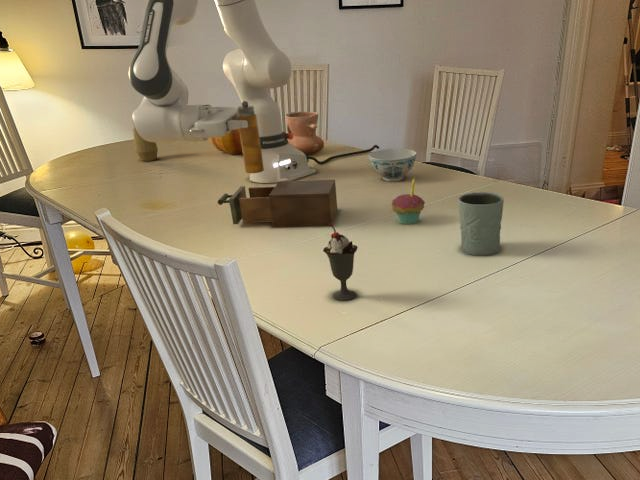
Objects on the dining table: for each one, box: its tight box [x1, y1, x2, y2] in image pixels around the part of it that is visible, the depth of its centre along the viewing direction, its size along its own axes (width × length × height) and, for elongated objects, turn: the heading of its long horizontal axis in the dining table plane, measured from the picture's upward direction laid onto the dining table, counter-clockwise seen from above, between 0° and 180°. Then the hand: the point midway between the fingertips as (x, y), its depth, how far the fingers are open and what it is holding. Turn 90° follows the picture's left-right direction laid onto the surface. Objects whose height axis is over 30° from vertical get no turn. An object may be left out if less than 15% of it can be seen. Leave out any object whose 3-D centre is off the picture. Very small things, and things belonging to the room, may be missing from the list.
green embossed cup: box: [457, 191, 505, 257], centre depth 147 cm, size 10×10×12 cm
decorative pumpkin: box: [208, 129, 243, 155], centre depth 250 cm, size 20×22×15 cm
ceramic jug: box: [284, 111, 325, 156], centre depth 242 cm, size 18×14×14 cm
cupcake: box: [391, 175, 426, 225], centre depth 167 cm, size 9×8×12 cm
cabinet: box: [269, 179, 338, 228], centre depth 174 cm, size 16×14×9 cm
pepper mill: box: [237, 101, 264, 174], centre depth 167 cm, size 5×5×17 cm
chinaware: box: [368, 148, 417, 182], centre depth 206 cm, size 15×15×8 cm
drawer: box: [217, 185, 275, 225], centre depth 175 cm, size 19×12×7 cm, turn 87°
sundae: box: [322, 223, 358, 302], centre depth 127 cm, size 7×7×15 cm
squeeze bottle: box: [132, 126, 159, 162], centre depth 244 cm, size 8×8×18 cm
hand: (251, 121), depth 165 cm, fingers closed on pepper mill, 5 cm apart
